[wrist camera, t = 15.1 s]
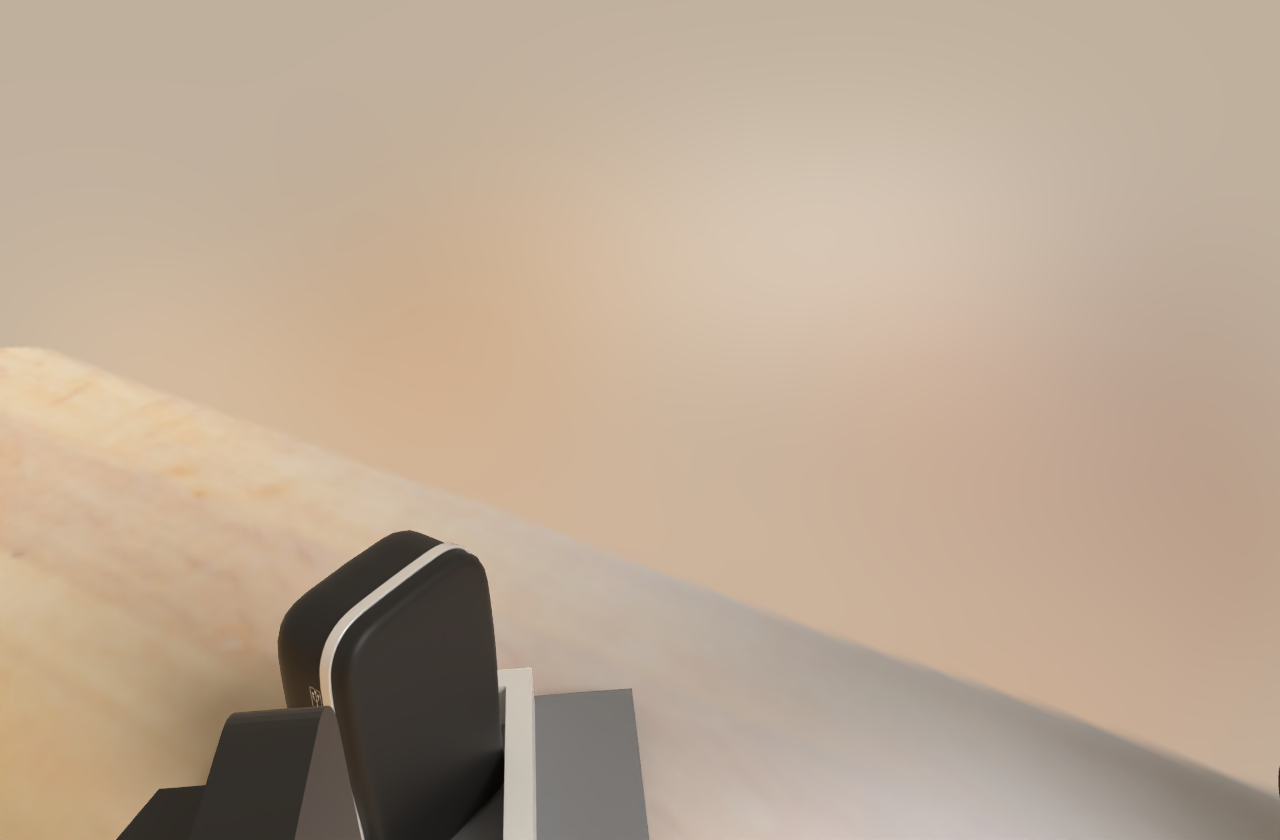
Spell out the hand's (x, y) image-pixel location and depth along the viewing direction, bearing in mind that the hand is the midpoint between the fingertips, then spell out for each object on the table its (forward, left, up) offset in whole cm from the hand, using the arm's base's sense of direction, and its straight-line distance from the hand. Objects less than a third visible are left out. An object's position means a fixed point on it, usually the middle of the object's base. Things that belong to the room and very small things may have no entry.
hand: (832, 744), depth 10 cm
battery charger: (+8, -24, -27) cm, 37 cm away
